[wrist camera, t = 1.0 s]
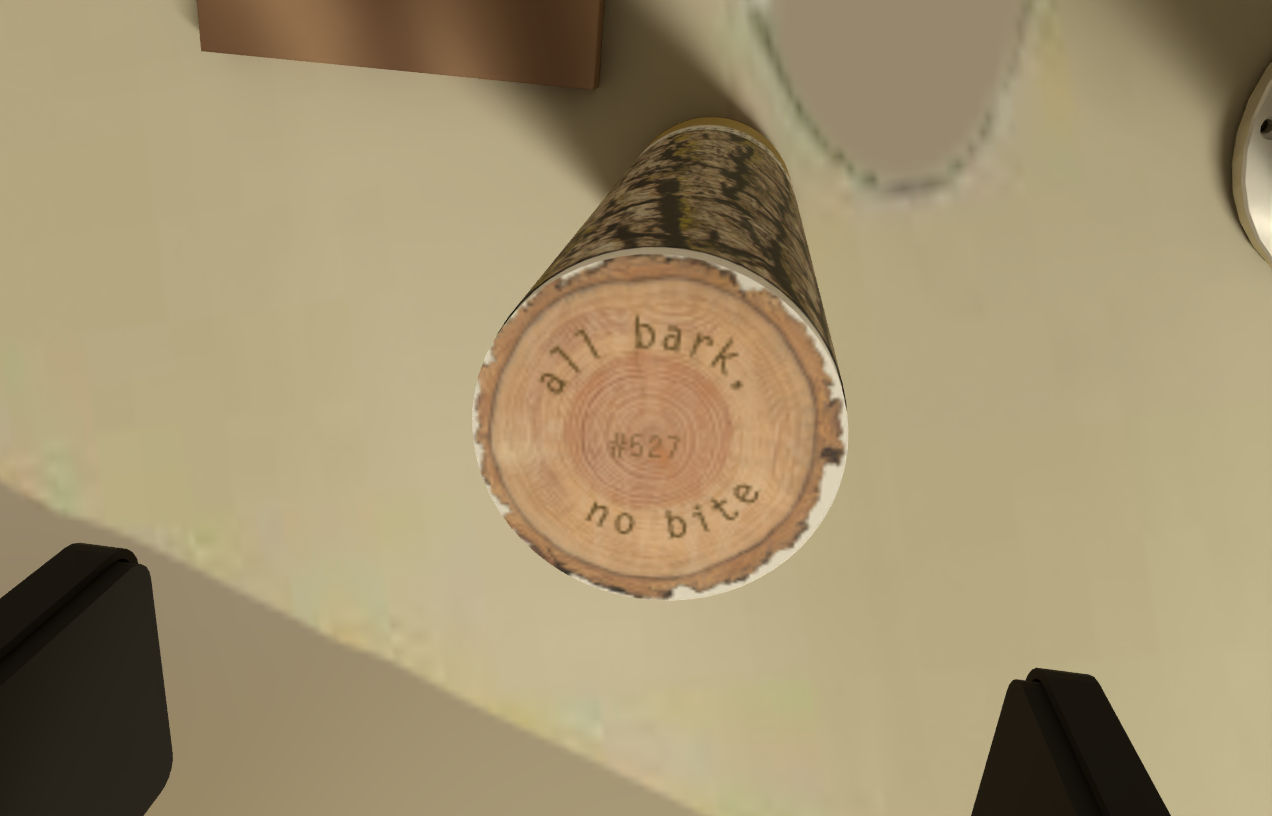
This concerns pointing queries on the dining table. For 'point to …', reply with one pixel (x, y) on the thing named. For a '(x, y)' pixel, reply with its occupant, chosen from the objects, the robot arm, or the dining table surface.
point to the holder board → (419, 36)
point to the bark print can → (670, 380)
